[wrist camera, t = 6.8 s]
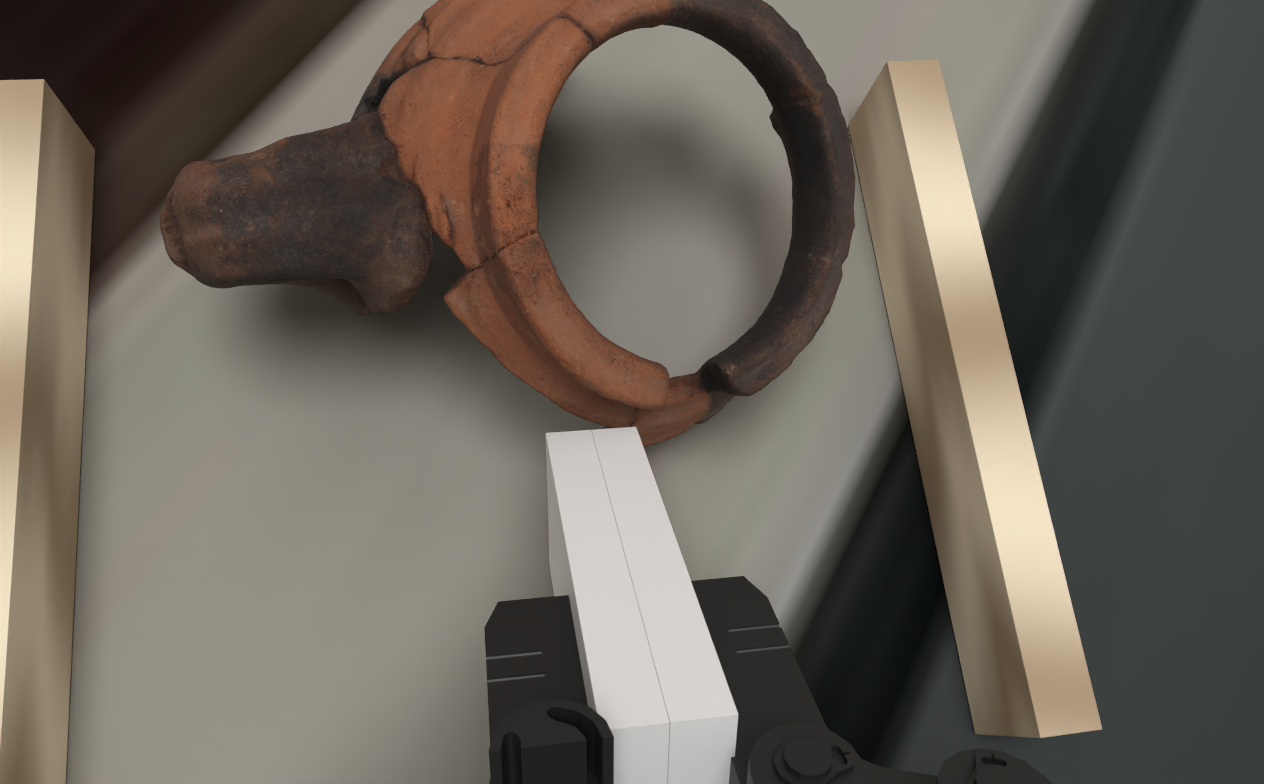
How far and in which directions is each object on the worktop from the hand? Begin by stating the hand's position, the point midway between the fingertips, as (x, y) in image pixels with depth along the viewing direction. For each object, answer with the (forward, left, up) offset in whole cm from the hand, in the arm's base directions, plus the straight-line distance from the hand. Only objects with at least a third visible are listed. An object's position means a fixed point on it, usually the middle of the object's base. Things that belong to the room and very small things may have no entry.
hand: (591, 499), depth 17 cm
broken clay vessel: (-2, +6, -3) cm, 7 cm away
